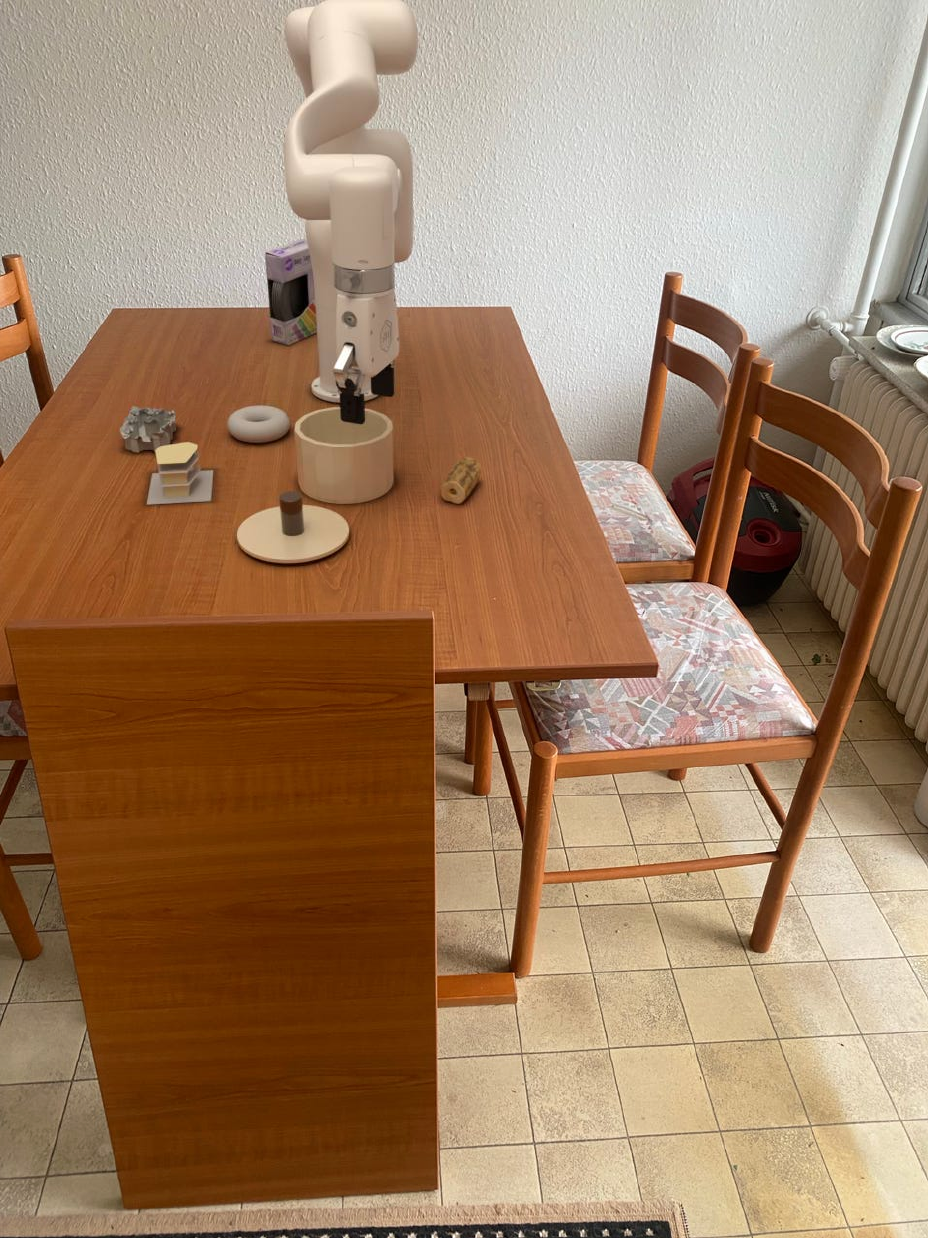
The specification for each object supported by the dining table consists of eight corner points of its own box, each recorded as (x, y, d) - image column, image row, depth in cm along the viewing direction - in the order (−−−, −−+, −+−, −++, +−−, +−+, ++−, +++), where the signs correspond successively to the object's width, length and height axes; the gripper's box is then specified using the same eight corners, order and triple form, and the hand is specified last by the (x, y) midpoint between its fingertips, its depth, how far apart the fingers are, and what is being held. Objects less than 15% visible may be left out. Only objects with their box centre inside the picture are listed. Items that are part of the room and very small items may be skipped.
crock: (322, 455, 162) (319, 401, 156) (406, 469, 158) (406, 414, 153) (282, 494, 151) (278, 437, 145) (372, 510, 147) (370, 452, 142)
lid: (269, 504, 148) (265, 464, 144) (366, 522, 144) (364, 481, 141) (216, 555, 136) (211, 512, 132) (321, 575, 132) (318, 532, 129)
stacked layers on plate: (210, 501, 148) (206, 466, 145) (146, 504, 147) (140, 469, 144) (213, 470, 156) (209, 436, 153) (152, 473, 155) (146, 439, 152)
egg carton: (168, 454, 161) (164, 429, 159) (119, 453, 161) (115, 429, 158) (181, 425, 170) (178, 401, 167) (135, 425, 169) (131, 401, 167)
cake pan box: (285, 348, 201) (278, 254, 191) (266, 342, 203) (258, 250, 193) (347, 322, 214) (343, 233, 204) (328, 317, 217) (324, 229, 207)
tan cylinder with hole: (465, 506, 149) (466, 481, 147) (437, 501, 150) (438, 476, 148) (482, 482, 155) (483, 457, 153) (456, 477, 156) (456, 453, 154)
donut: (220, 428, 170) (239, 450, 162) (218, 408, 168) (236, 430, 160) (279, 418, 174) (299, 439, 166) (277, 398, 172) (297, 419, 164)
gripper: (363, 300, 119) (368, 438, 129) (418, 262, 133) (418, 389, 142) (304, 293, 121) (313, 428, 131) (364, 255, 135) (368, 381, 144)
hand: (368, 408), depth 137 cm, fingers open, 9 cm apart
